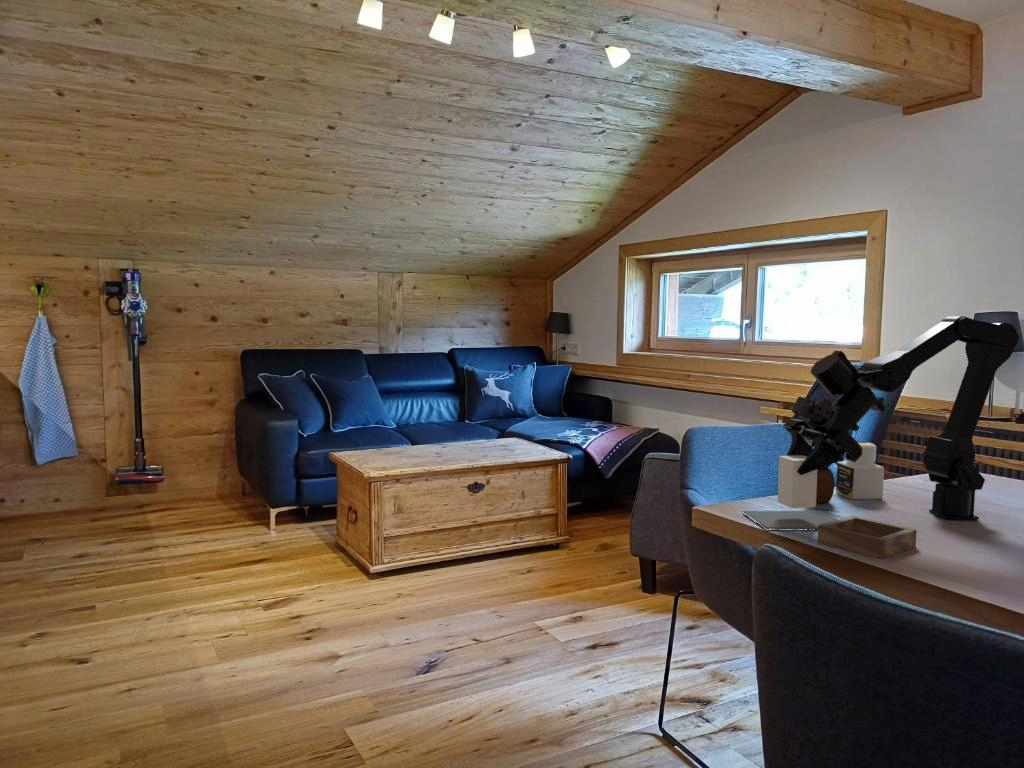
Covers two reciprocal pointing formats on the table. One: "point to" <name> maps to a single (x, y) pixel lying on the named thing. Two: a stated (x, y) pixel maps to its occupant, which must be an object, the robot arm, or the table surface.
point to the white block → (796, 483)
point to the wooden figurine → (824, 485)
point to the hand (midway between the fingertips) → (791, 470)
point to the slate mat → (791, 519)
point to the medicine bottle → (861, 475)
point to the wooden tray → (867, 536)
